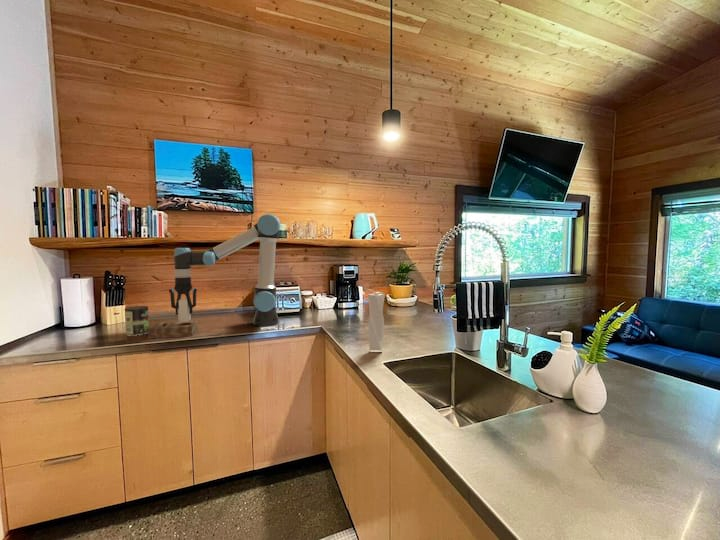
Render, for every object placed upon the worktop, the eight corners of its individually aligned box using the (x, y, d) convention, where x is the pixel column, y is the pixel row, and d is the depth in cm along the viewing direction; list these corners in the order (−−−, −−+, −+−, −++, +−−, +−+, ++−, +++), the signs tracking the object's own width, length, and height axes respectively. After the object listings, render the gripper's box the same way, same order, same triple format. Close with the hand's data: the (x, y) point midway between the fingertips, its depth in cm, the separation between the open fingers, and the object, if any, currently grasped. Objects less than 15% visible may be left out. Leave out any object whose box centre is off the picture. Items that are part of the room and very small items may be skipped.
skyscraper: (366, 353, 139) (367, 289, 137) (366, 348, 147) (366, 287, 145) (385, 353, 139) (385, 289, 137) (383, 348, 147) (384, 287, 145)
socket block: (197, 329, 180) (197, 320, 179) (192, 336, 166) (192, 326, 166) (157, 332, 174) (157, 322, 174) (148, 338, 161) (147, 329, 160)
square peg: (189, 320, 174) (188, 298, 173) (187, 322, 170) (187, 299, 169) (181, 320, 172) (180, 298, 172) (179, 322, 169) (178, 300, 168)
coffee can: (152, 330, 176) (151, 305, 176) (143, 335, 166) (142, 309, 165) (132, 331, 175) (131, 306, 174) (121, 336, 165) (120, 309, 164)
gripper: (202, 275, 176) (203, 317, 177) (166, 276, 171) (168, 319, 172) (199, 277, 168) (200, 320, 170) (162, 277, 164) (164, 322, 165)
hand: (184, 320), depth 171 cm, fingers closed on square peg, 4 cm apart
